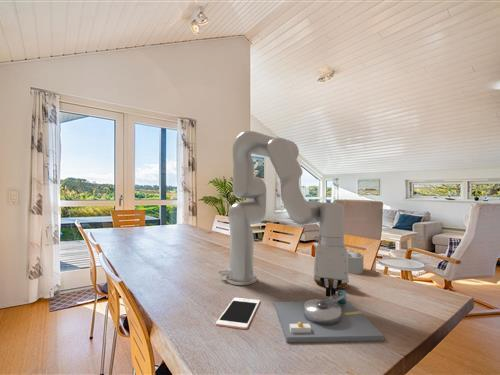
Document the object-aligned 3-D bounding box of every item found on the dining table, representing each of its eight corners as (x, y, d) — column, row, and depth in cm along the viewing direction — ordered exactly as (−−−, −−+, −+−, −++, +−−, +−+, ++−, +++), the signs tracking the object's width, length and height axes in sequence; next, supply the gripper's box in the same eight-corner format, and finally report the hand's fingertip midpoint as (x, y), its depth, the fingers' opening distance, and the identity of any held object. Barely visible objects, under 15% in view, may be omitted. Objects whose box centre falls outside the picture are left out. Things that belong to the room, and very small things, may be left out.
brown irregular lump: (311, 285, 101) (311, 265, 101) (318, 278, 109) (318, 259, 109) (346, 292, 94) (346, 270, 94) (350, 284, 103) (350, 264, 103)
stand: (286, 342, 63) (286, 328, 63) (274, 305, 83) (274, 295, 83) (383, 340, 64) (384, 327, 64) (348, 304, 84) (348, 294, 84)
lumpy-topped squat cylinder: (361, 275, 114) (361, 255, 115) (330, 270, 121) (330, 251, 121) (364, 269, 123) (364, 250, 123) (335, 265, 130) (336, 247, 130)
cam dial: (328, 329, 66) (328, 313, 66) (296, 315, 74) (297, 300, 74) (359, 309, 78) (359, 295, 78) (329, 298, 85) (329, 286, 85)
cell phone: (260, 302, 86) (260, 299, 86) (246, 331, 68) (246, 327, 68) (234, 300, 88) (234, 297, 88) (215, 326, 70) (215, 323, 70)
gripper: (306, 241, 82) (305, 300, 82) (357, 245, 77) (356, 307, 77) (308, 237, 89) (308, 291, 89) (355, 241, 84) (355, 297, 84)
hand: (330, 298), depth 83 cm, fingers closed
